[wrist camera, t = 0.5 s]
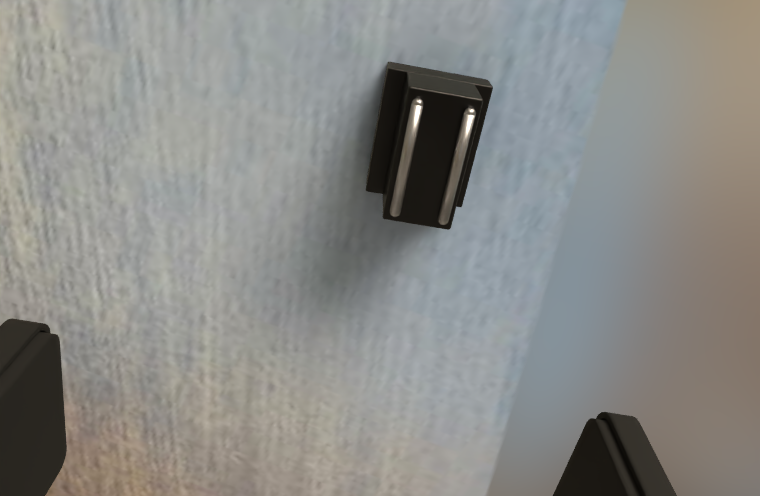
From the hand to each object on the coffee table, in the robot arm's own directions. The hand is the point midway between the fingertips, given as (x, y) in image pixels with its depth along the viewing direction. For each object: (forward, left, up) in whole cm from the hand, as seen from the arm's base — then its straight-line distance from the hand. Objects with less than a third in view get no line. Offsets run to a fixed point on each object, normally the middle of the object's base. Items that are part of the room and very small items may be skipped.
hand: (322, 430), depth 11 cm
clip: (-1, +2, -16) cm, 16 cm away
